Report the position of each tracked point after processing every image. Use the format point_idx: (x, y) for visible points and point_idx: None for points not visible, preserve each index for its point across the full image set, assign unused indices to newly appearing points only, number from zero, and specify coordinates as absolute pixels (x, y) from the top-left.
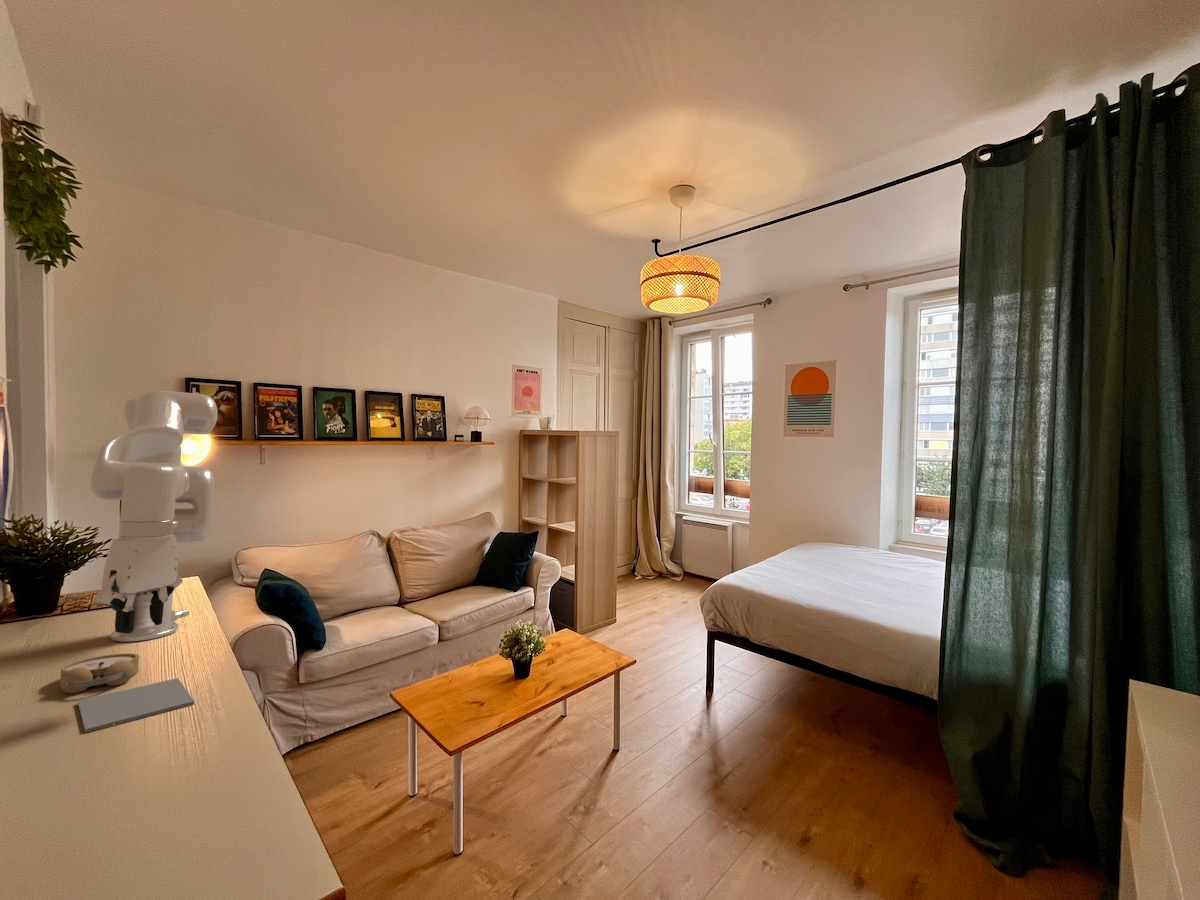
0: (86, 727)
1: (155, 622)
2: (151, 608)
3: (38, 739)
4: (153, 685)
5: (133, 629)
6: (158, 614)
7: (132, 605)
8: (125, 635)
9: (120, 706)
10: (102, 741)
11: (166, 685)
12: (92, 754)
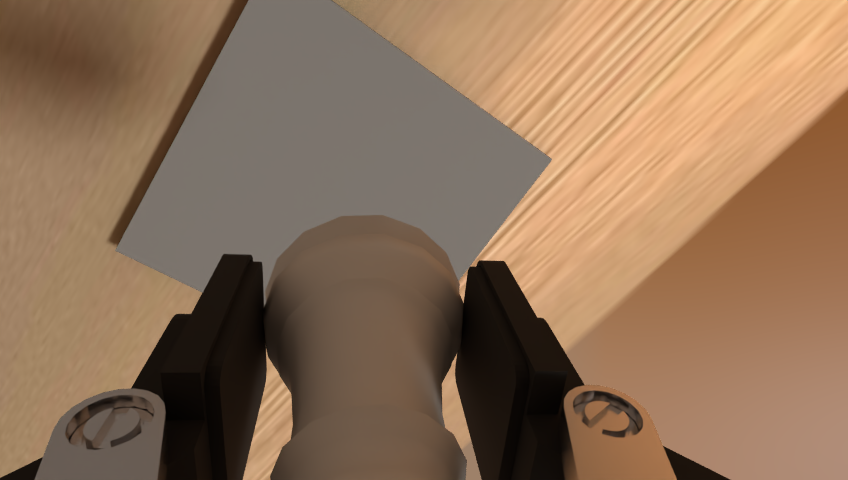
0: (126, 239)
1: (459, 368)
2: (492, 404)
3: (25, 139)
4: (471, 131)
5: (278, 372)
6: (471, 437)
7: (281, 472)
8: (266, 298)
9: (282, 194)
10: (111, 340)
11: (478, 182)
12: (52, 382)
